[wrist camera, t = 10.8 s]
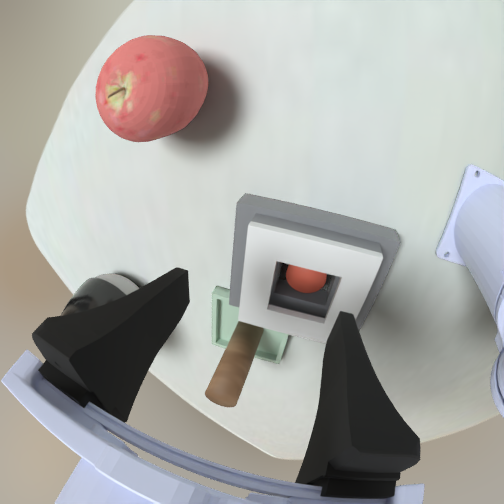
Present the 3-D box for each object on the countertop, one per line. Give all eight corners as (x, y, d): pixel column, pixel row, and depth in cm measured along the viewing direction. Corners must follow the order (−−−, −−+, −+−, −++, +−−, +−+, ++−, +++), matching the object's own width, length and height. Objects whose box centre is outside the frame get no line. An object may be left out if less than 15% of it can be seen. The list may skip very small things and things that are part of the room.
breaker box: (395, 229, 19) (405, 257, 16) (356, 321, 24) (355, 353, 21) (245, 193, 21) (226, 213, 18) (236, 291, 27) (221, 319, 23)
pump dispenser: (89, 273, 33) (17, 345, 21) (127, 249, 28) (31, 343, 16) (133, 328, 36) (75, 406, 24) (178, 318, 32) (111, 421, 19)
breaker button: (331, 254, 21) (331, 265, 20) (321, 285, 23) (320, 297, 22) (293, 244, 22) (289, 255, 21) (286, 276, 24) (282, 287, 22)
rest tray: (296, 307, 25) (294, 316, 24) (281, 356, 30) (279, 364, 29) (216, 285, 27) (211, 293, 26) (215, 336, 31) (211, 344, 30)
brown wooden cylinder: (268, 327, 27) (241, 402, 20) (255, 340, 29) (228, 409, 22) (245, 313, 27) (212, 386, 20) (233, 326, 29) (200, 395, 21)
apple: (222, 134, 19) (162, 156, 12) (143, 131, 20) (72, 153, 14) (229, 41, 15) (169, 14, 8) (146, 50, 16) (72, 45, 10)
